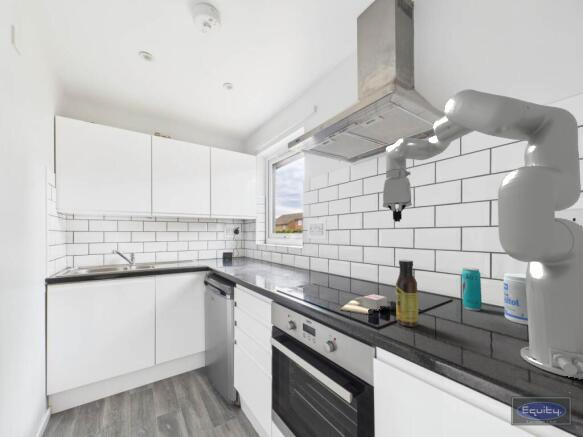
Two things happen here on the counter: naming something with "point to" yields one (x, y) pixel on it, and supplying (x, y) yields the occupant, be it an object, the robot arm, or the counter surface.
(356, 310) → the cream folded towel
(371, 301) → the tea bag
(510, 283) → the supplement tub
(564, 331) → the robot arm
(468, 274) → the beverage can
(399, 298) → the sauce bottle
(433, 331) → the counter surface
